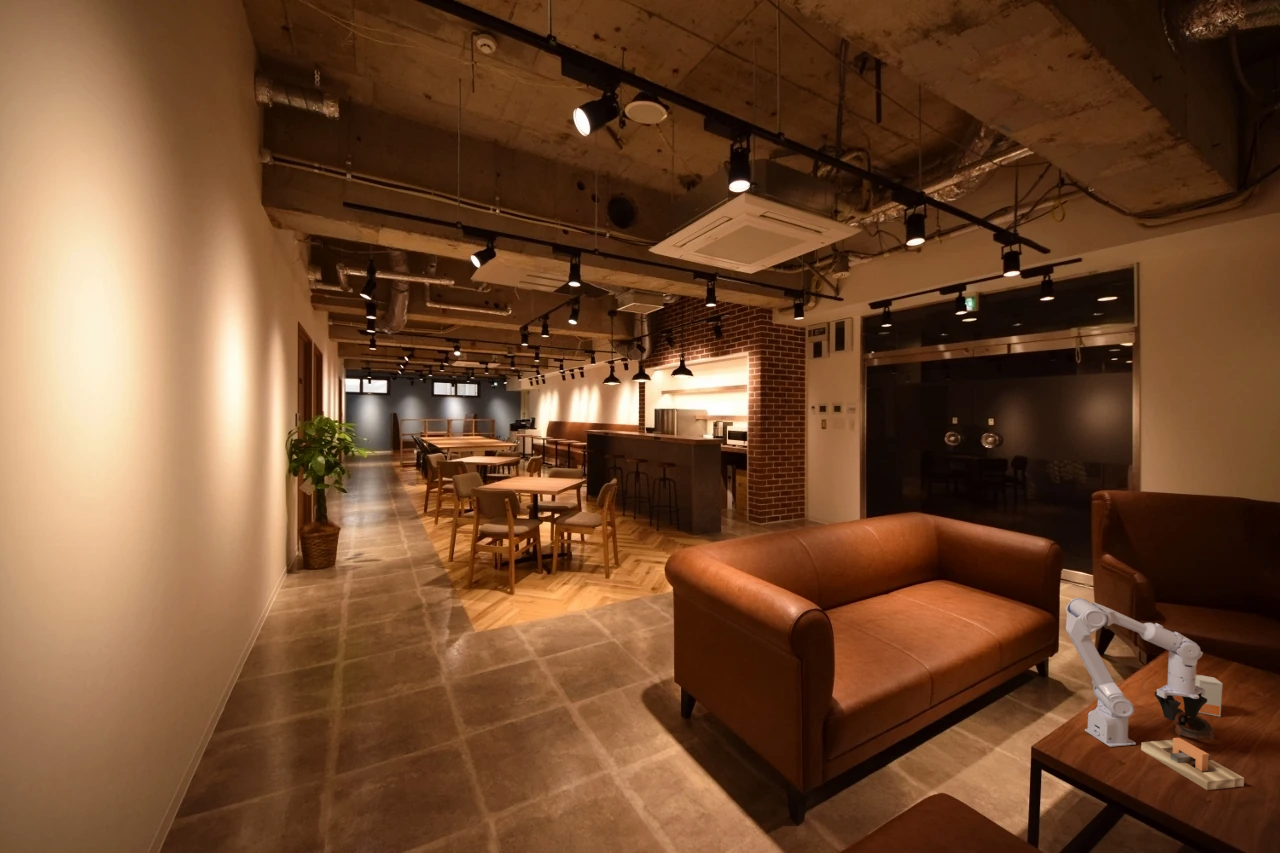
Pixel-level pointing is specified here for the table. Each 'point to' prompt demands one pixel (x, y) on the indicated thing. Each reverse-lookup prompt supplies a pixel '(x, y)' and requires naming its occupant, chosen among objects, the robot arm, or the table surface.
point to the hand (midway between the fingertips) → (1179, 718)
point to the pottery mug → (1192, 726)
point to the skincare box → (1210, 694)
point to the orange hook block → (1191, 753)
